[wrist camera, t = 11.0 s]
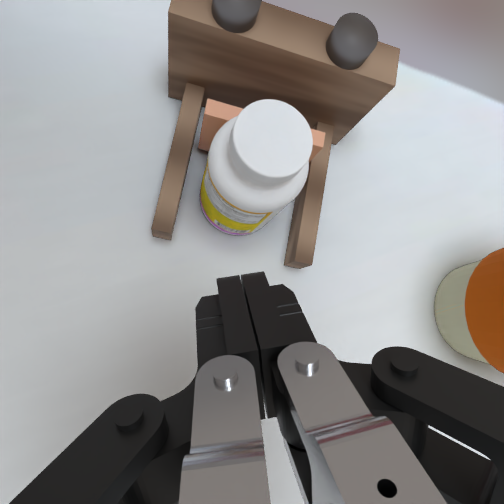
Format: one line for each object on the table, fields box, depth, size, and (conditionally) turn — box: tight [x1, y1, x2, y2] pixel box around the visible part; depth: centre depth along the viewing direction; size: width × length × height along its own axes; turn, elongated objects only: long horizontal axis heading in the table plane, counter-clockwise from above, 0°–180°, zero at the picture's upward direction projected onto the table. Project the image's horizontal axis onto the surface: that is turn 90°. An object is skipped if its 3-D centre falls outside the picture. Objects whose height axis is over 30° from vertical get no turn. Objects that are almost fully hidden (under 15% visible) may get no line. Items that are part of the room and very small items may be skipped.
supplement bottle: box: [200, 99, 313, 235], centre depth 28 cm, size 7×7×13 cm
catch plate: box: [198, 99, 325, 162], centre depth 31 cm, size 1×9×6 cm, turn 79°
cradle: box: [151, 0, 400, 269], centre depth 29 cm, size 16×16×12 cm
